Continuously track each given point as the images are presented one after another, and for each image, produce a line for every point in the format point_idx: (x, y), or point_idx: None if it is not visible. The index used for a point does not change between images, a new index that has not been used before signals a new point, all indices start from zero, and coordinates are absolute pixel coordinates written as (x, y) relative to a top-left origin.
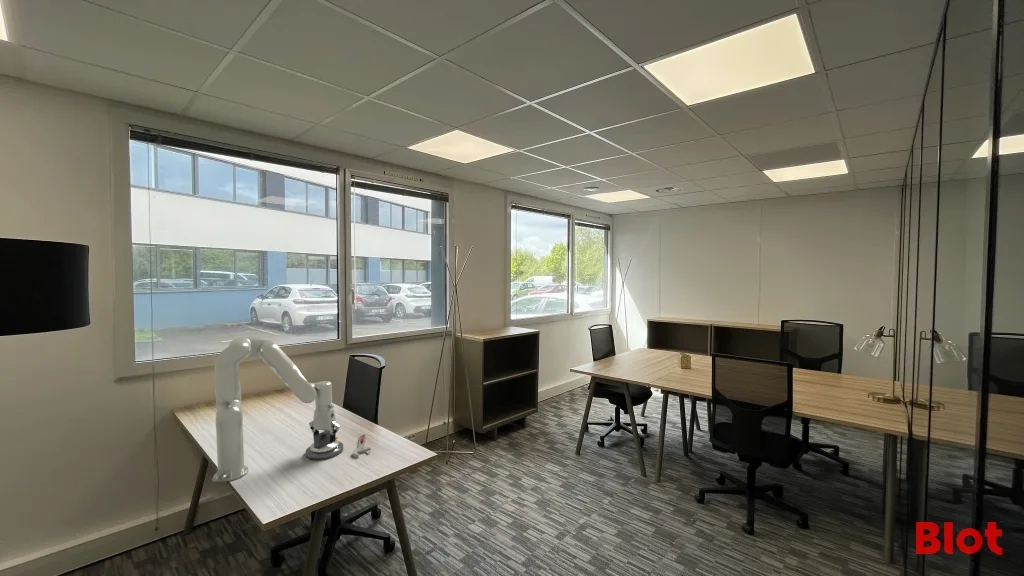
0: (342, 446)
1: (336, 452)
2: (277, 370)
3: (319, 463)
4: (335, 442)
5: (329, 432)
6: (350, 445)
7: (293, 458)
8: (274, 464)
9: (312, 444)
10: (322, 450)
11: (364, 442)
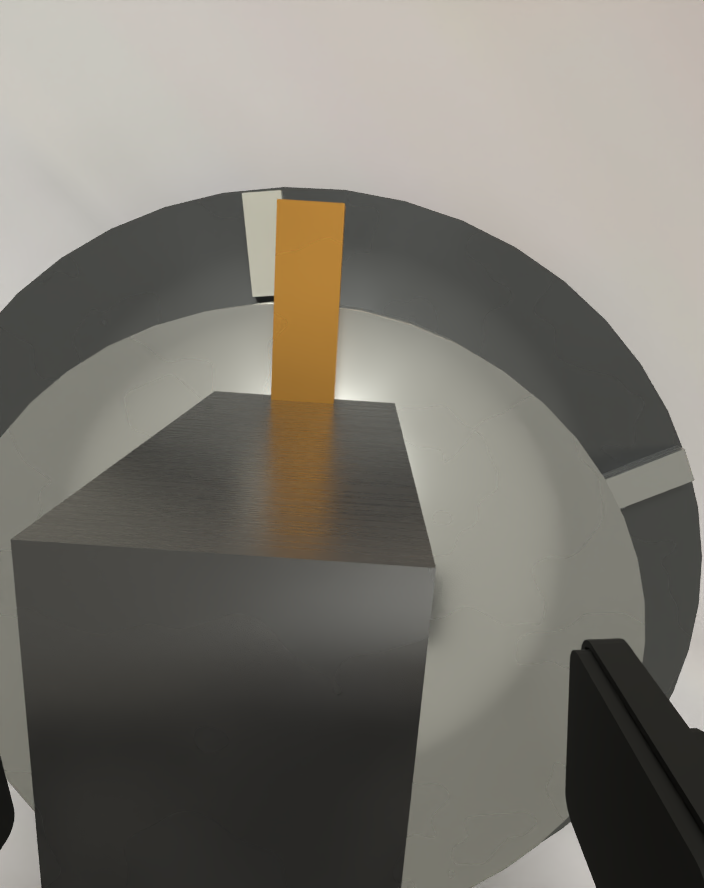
0: (657, 418)
1: (676, 656)
2: None
3: (535, 881)
4: (490, 485)
5: (391, 876)
6: (638, 114)
7: (4, 873)
8: None
9: (8, 744)
10: (475, 876)
11: None
